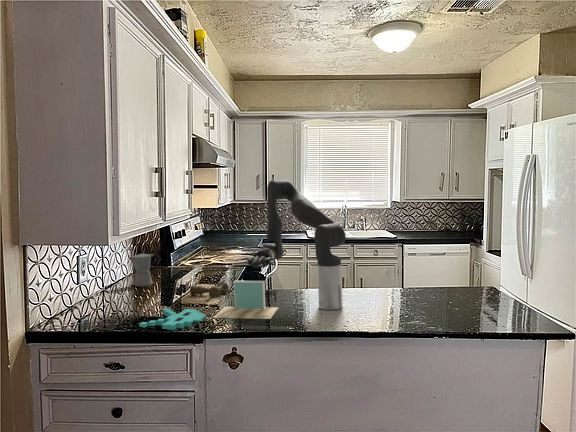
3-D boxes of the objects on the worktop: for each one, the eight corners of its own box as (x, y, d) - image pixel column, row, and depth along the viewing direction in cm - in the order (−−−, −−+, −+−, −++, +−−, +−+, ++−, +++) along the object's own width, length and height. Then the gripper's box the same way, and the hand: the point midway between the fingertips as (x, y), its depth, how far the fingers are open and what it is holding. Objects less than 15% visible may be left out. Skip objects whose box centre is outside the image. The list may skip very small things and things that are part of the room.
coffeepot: (130, 288, 230) (128, 252, 228) (129, 284, 238) (127, 250, 237) (162, 284, 235) (160, 249, 234) (159, 281, 244) (158, 247, 243)
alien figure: (139, 330, 163) (192, 331, 159) (139, 323, 163) (191, 325, 159) (165, 313, 183) (212, 315, 179) (165, 308, 183) (212, 309, 178)
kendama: (197, 293, 216) (236, 294, 209) (187, 299, 206) (227, 300, 200) (196, 281, 215) (235, 281, 209) (185, 286, 206) (226, 286, 200)
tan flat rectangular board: (278, 309, 181) (278, 307, 181) (270, 321, 166) (270, 318, 166) (225, 308, 185) (225, 306, 185) (212, 320, 170) (212, 317, 170)
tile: (265, 308, 180) (264, 280, 180) (264, 309, 178) (263, 281, 178) (236, 307, 183) (235, 280, 182) (234, 309, 181) (233, 281, 180)
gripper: (249, 249, 207) (239, 255, 190) (278, 249, 205) (270, 256, 188) (250, 265, 208) (239, 273, 191) (279, 265, 205) (270, 274, 189)
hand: (254, 264), depth 189 cm, fingers closed
